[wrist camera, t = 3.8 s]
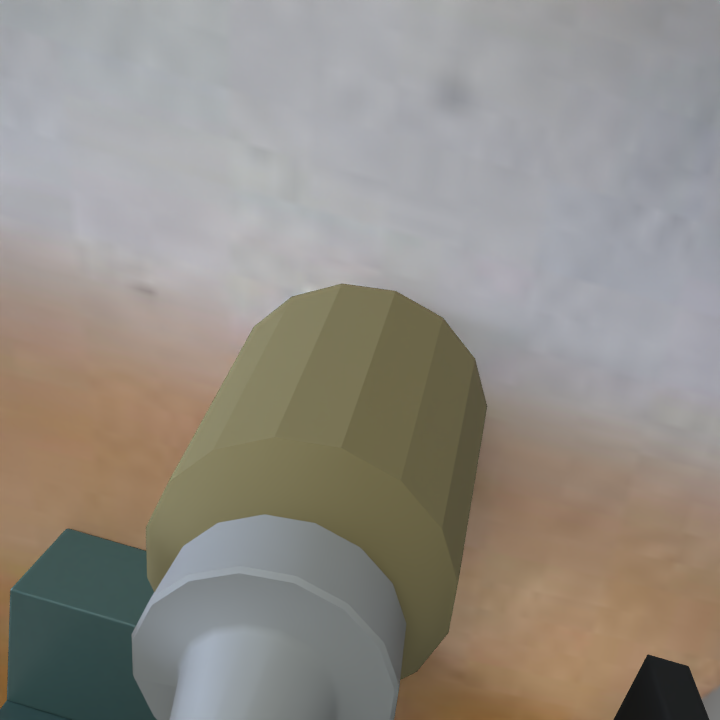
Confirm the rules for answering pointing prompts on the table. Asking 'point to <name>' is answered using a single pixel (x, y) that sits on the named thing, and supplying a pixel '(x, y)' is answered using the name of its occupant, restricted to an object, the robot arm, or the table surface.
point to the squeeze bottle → (315, 517)
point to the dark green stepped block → (77, 633)
